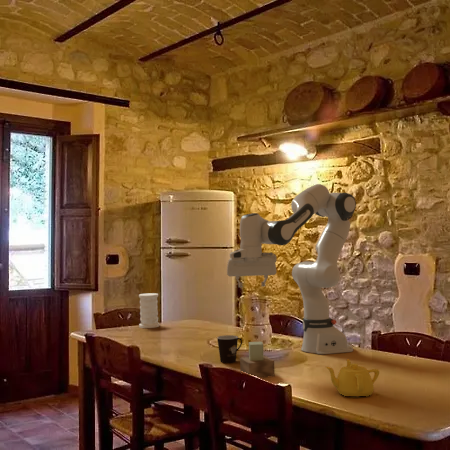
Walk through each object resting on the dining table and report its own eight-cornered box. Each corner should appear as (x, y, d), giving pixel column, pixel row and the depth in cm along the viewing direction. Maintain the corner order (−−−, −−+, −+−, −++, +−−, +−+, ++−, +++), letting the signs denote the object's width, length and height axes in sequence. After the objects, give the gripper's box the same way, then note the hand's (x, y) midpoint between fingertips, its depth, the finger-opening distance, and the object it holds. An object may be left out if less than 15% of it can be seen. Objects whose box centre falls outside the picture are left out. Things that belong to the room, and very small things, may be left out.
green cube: (262, 357, 229) (261, 341, 229) (263, 360, 224) (263, 344, 224) (249, 357, 229) (248, 342, 229) (250, 360, 224) (249, 344, 224)
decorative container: (163, 325, 338) (163, 293, 338) (150, 328, 328) (150, 296, 328) (148, 323, 344) (147, 292, 344) (134, 327, 335) (133, 295, 334)
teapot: (348, 385, 208) (347, 357, 207) (383, 392, 198) (382, 363, 198) (325, 395, 198) (324, 365, 198) (360, 402, 188) (359, 371, 188)
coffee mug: (220, 364, 243) (220, 340, 243) (215, 360, 251) (214, 336, 251) (248, 362, 246) (247, 337, 246) (241, 357, 254) (241, 334, 254)
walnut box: (264, 370, 232) (264, 355, 232) (274, 376, 223) (274, 360, 223) (240, 373, 229) (240, 357, 229) (249, 379, 220) (249, 363, 220)
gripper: (275, 251, 248) (276, 285, 248) (226, 253, 247) (227, 286, 247) (277, 252, 242) (278, 286, 242) (227, 254, 241) (227, 288, 241)
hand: (252, 286), depth 245 cm, fingers open, 8 cm apart
